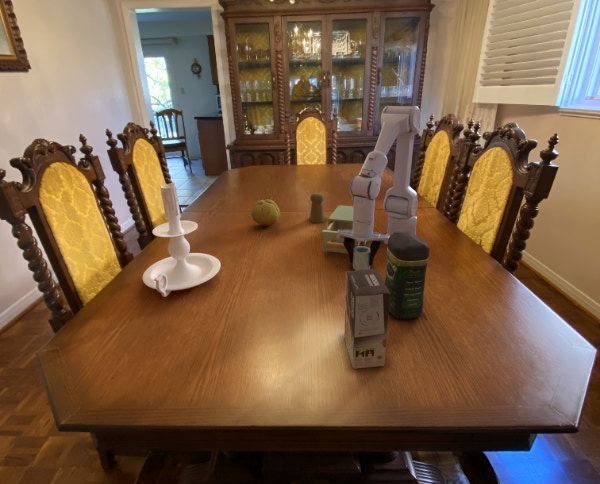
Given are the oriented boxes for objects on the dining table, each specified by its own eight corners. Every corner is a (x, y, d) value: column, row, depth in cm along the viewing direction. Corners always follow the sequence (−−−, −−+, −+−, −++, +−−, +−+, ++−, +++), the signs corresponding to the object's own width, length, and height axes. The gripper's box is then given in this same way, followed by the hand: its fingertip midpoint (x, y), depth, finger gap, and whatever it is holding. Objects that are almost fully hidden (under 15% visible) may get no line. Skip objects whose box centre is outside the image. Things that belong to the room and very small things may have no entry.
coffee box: (386, 366, 65) (392, 293, 59) (352, 369, 65) (355, 296, 59) (372, 334, 74) (376, 267, 68) (342, 336, 73) (344, 270, 67)
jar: (371, 264, 102) (372, 247, 100) (368, 272, 98) (369, 254, 96) (354, 261, 104) (355, 245, 102) (351, 269, 100) (351, 252, 97)
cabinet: (364, 245, 114) (365, 222, 111) (327, 241, 118) (328, 218, 115) (372, 229, 127) (373, 208, 124) (338, 226, 131) (338, 205, 128)
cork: (323, 223, 134) (323, 196, 130) (308, 222, 135) (307, 195, 131) (325, 217, 140) (325, 191, 136) (311, 217, 141) (310, 191, 137)
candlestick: (120, 309, 84) (92, 200, 74) (164, 261, 107) (148, 173, 97) (202, 311, 83) (185, 200, 72) (229, 262, 106) (219, 172, 95)
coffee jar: (427, 319, 78) (437, 244, 71) (393, 322, 77) (400, 247, 70) (409, 295, 87) (416, 227, 80) (378, 298, 86) (383, 229, 79)
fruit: (246, 229, 131) (244, 203, 127) (261, 218, 141) (259, 195, 137) (272, 232, 127) (271, 206, 123) (285, 221, 137) (284, 197, 133)
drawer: (354, 261, 103) (355, 240, 100) (317, 255, 106) (317, 236, 104) (365, 238, 118) (366, 219, 116) (333, 234, 122) (333, 216, 119)
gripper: (334, 221, 94) (333, 265, 99) (388, 227, 90) (385, 273, 95) (340, 212, 100) (339, 254, 105) (391, 217, 96) (388, 261, 101)
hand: (361, 262), depth 100 cm, fingers closed on jar, 5 cm apart
